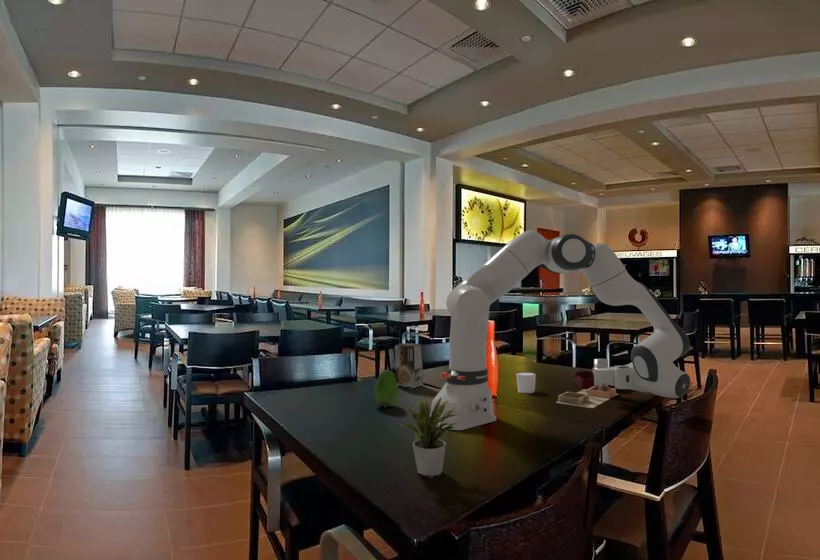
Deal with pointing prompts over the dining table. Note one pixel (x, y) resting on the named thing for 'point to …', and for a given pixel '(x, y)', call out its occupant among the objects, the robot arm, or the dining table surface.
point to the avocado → (386, 389)
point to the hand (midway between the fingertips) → (604, 369)
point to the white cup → (526, 382)
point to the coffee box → (409, 364)
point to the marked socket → (601, 393)
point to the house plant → (430, 437)
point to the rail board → (581, 399)
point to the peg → (597, 385)
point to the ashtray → (585, 379)
